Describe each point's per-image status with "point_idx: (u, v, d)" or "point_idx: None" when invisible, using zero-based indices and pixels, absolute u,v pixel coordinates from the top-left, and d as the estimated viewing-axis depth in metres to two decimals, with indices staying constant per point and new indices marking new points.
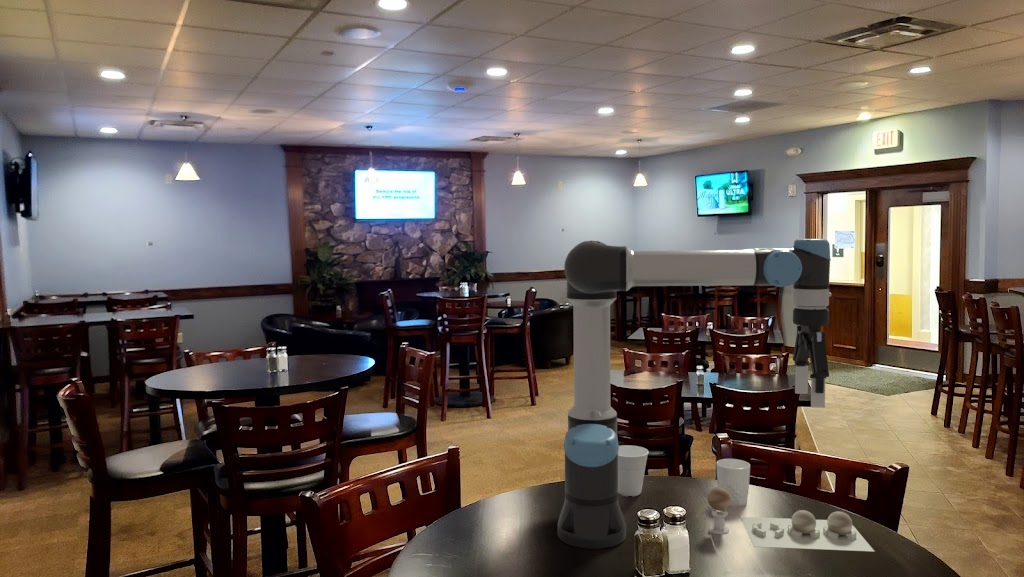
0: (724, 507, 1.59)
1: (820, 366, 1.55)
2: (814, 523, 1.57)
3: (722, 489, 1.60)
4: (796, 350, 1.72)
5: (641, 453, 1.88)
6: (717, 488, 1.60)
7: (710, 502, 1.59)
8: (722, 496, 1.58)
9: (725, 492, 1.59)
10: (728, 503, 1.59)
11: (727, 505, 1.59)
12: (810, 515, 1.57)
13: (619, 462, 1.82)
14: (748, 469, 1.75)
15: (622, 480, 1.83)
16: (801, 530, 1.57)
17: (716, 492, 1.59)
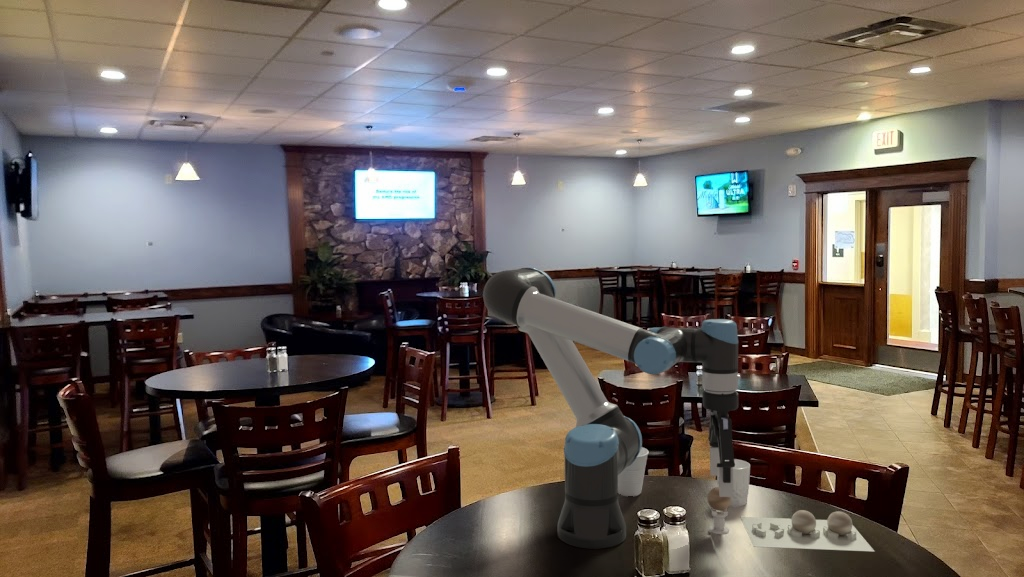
0: (724, 507, 1.59)
1: (726, 456, 1.50)
2: (814, 523, 1.57)
3: None
4: (710, 430, 1.67)
5: (641, 453, 1.88)
6: (717, 488, 1.60)
7: (710, 502, 1.59)
8: None
9: None
10: (728, 503, 1.59)
11: (727, 505, 1.59)
12: (810, 515, 1.57)
13: None
14: (748, 469, 1.75)
15: (622, 480, 1.83)
16: (801, 530, 1.57)
17: (716, 492, 1.59)
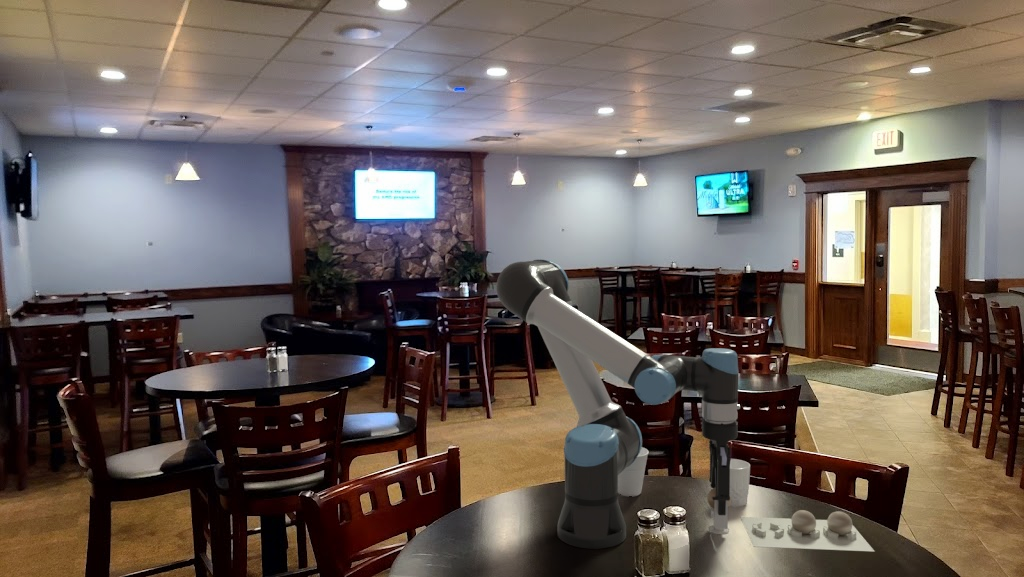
0: None
1: (722, 491, 1.54)
2: (814, 523, 1.57)
3: None
4: (711, 468, 1.65)
5: (641, 453, 1.88)
6: None
7: (710, 502, 1.59)
8: None
9: None
10: (728, 503, 1.59)
11: None
12: (810, 515, 1.57)
13: None
14: (748, 469, 1.75)
15: (622, 480, 1.83)
16: (801, 530, 1.57)
17: None
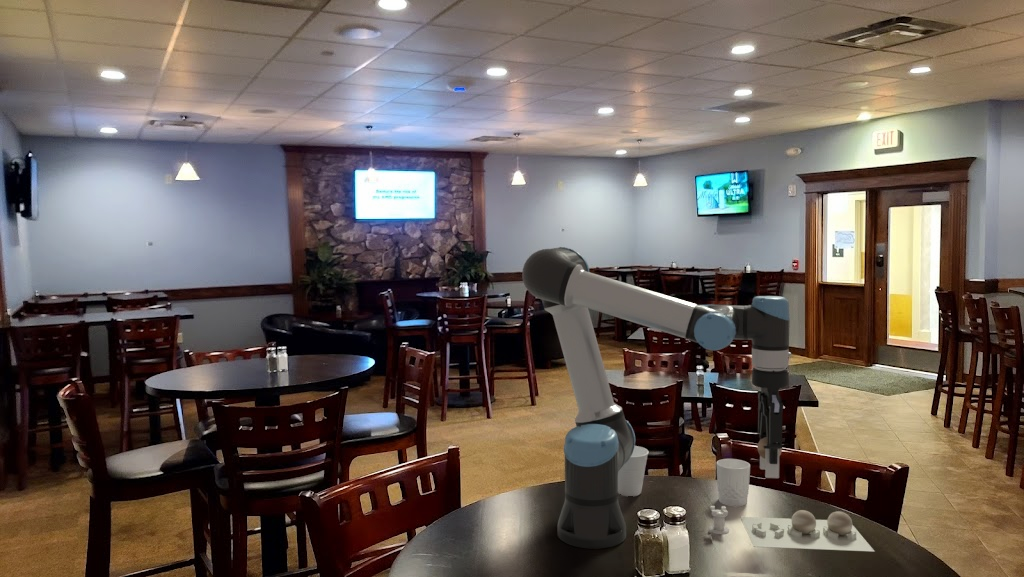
0: None
1: (774, 439, 1.52)
2: (814, 523, 1.57)
3: None
4: (760, 419, 1.63)
5: (641, 453, 1.88)
6: None
7: (761, 452, 1.57)
8: None
9: None
10: (779, 452, 1.56)
11: None
12: (810, 515, 1.57)
13: None
14: (748, 469, 1.75)
15: (622, 480, 1.83)
16: (801, 530, 1.57)
17: None
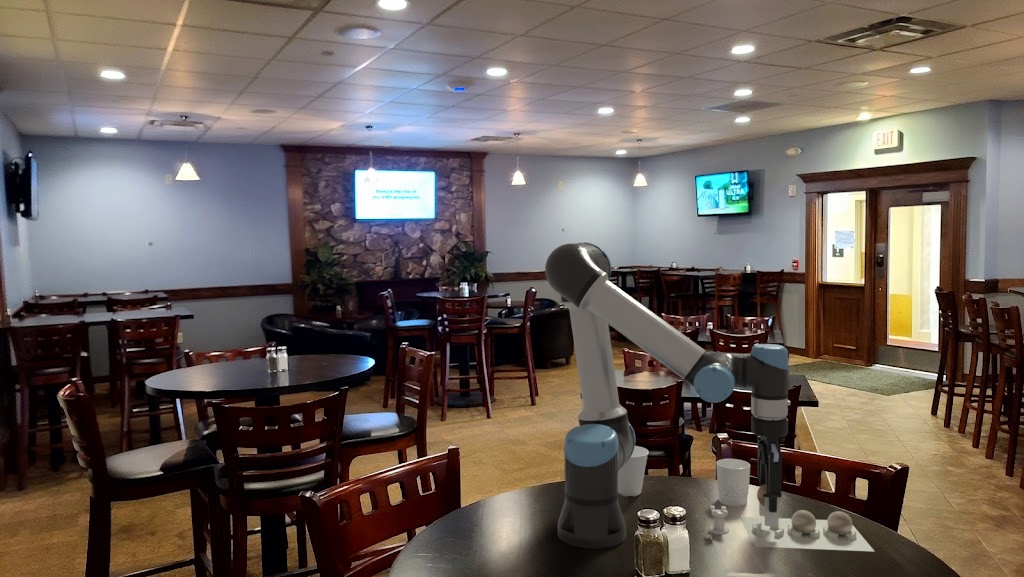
0: None
1: (773, 488, 1.53)
2: (814, 523, 1.57)
3: None
4: (759, 465, 1.64)
5: (641, 453, 1.88)
6: None
7: (760, 499, 1.58)
8: None
9: None
10: (779, 500, 1.57)
11: None
12: (810, 515, 1.57)
13: None
14: (748, 469, 1.75)
15: (622, 480, 1.83)
16: (801, 530, 1.57)
17: None
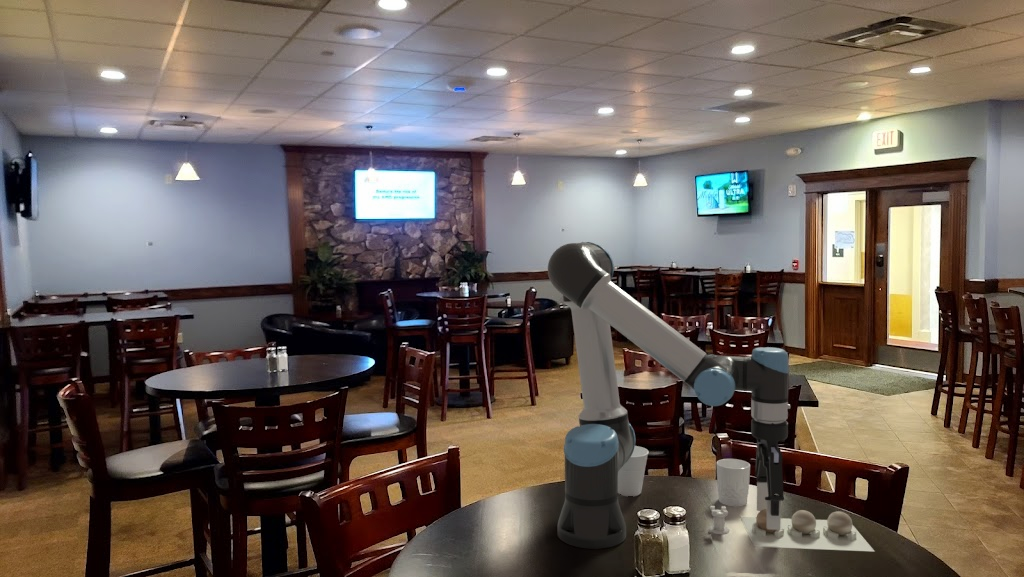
0: None
1: (775, 490, 1.51)
2: (814, 523, 1.57)
3: None
4: (757, 463, 1.65)
5: (641, 453, 1.88)
6: (766, 510, 1.59)
7: (759, 524, 1.58)
8: None
9: None
10: None
11: None
12: (810, 515, 1.57)
13: None
14: (748, 469, 1.75)
15: (622, 480, 1.83)
16: (801, 530, 1.57)
17: (766, 514, 1.58)
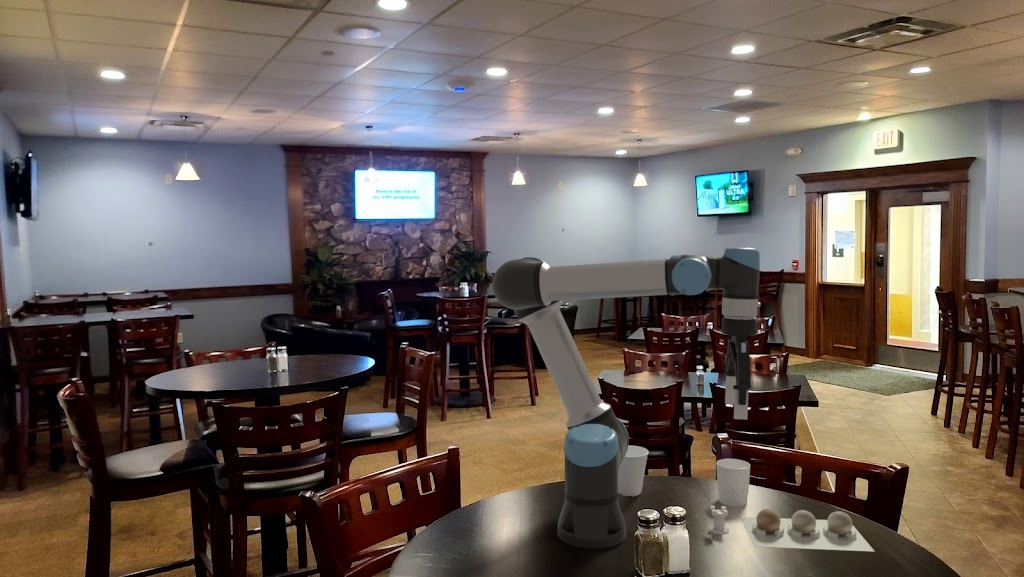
0: (774, 529, 1.57)
1: (742, 377, 1.53)
2: (814, 523, 1.57)
3: (772, 511, 1.59)
4: (727, 360, 1.70)
5: (641, 453, 1.88)
6: (766, 510, 1.59)
7: (759, 524, 1.58)
8: (772, 519, 1.57)
9: (775, 514, 1.58)
10: (778, 525, 1.58)
11: (777, 527, 1.58)
12: (810, 515, 1.57)
13: None
14: (748, 469, 1.75)
15: (622, 480, 1.83)
16: (801, 530, 1.57)
17: (766, 515, 1.58)
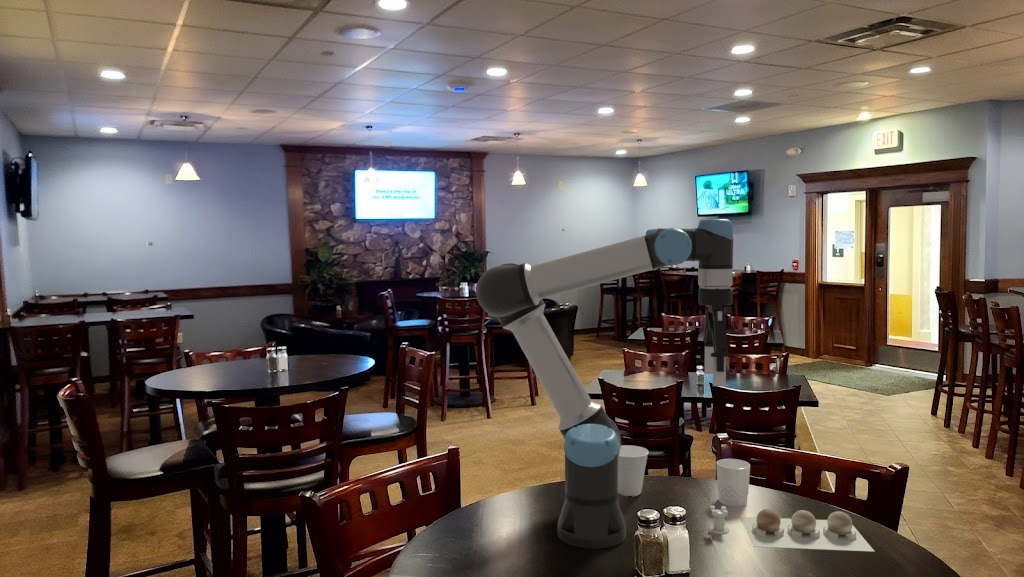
0: (774, 530, 1.57)
1: (719, 345, 1.57)
2: (814, 523, 1.57)
3: (772, 511, 1.59)
4: (705, 331, 1.74)
5: (641, 453, 1.88)
6: (767, 510, 1.59)
7: (760, 525, 1.58)
8: (772, 519, 1.57)
9: (775, 515, 1.58)
10: (778, 526, 1.58)
11: (777, 528, 1.58)
12: (810, 515, 1.57)
13: (619, 462, 1.82)
14: (748, 469, 1.75)
15: (622, 480, 1.83)
16: (801, 530, 1.57)
17: (766, 515, 1.58)
